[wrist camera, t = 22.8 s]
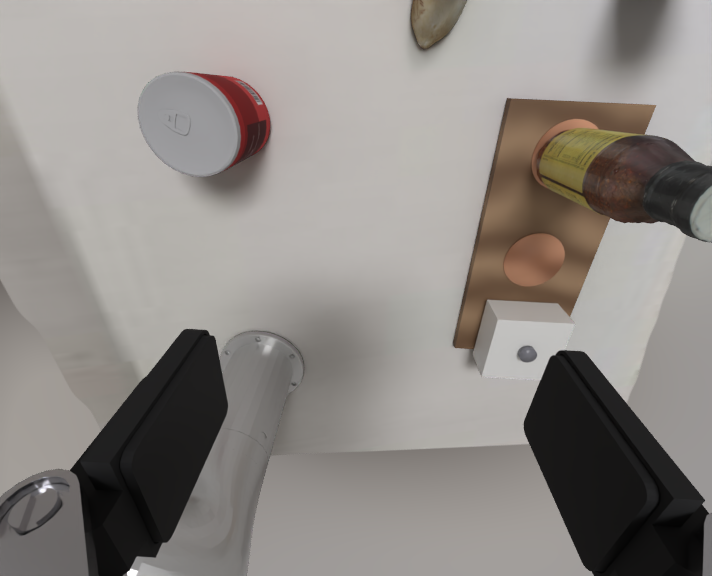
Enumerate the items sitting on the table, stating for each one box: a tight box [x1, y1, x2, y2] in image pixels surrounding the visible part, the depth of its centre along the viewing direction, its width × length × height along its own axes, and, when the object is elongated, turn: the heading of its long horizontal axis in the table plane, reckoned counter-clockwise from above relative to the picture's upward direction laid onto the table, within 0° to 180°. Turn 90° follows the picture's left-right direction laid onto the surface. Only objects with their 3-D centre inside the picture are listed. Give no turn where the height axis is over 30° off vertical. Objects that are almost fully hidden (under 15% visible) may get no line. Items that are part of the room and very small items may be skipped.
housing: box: [473, 300, 575, 381], centre depth 45 cm, size 9×9×5 cm
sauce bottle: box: [536, 128, 712, 242], centre depth 28 cm, size 6×6×20 cm
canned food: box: [138, 72, 270, 177], centre depth 33 cm, size 8×8×11 cm
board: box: [453, 98, 656, 349], centre depth 42 cm, size 31×14×1 cm, turn 178°
